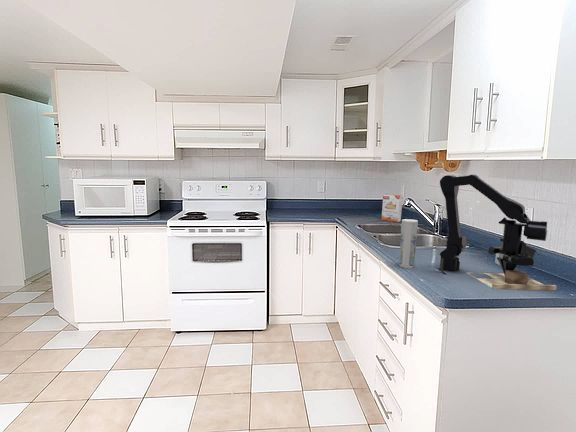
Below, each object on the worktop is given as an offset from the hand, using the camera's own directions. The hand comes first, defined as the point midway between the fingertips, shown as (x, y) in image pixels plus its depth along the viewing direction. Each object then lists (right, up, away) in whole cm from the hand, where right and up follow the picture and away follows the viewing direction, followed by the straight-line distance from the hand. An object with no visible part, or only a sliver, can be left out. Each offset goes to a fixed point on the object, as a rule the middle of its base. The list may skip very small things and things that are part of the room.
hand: (507, 277), depth 137 cm
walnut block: (0, -2, -4) cm, 5 cm away
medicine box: (+14, 0, +24) cm, 27 cm away
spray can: (-31, +1, +20) cm, 37 cm away
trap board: (0, -2, 0) cm, 2 cm away
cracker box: (0, +19, +154) cm, 155 cm away
